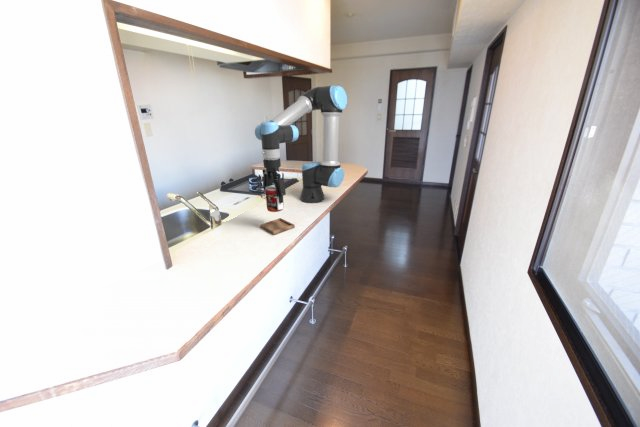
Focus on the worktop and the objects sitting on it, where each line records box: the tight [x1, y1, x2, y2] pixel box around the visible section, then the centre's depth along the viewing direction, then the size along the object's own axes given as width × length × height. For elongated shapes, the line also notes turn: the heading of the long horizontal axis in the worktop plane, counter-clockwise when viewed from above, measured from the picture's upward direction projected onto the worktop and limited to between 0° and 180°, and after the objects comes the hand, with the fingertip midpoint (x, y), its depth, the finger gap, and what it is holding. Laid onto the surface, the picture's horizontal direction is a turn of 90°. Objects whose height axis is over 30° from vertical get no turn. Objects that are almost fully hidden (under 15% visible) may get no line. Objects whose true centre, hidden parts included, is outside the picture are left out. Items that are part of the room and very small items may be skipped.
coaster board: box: [259, 218, 295, 236], centre depth 132 cm, size 12×12×2 cm
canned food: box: [264, 184, 285, 213], centre depth 127 cm, size 8×8×11 cm
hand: (275, 206), depth 129 cm, fingers closed on canned food, 8 cm apart
